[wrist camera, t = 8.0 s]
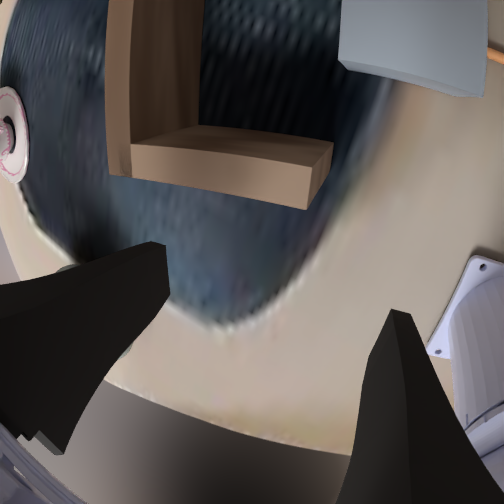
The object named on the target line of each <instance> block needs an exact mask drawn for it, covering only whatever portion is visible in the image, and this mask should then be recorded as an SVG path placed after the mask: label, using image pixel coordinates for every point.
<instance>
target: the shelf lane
mask: <svg viewBox="0 0 504 504" xmlns="http://www.w3.org/2000/svg"><path fill="white" fill-rule="evenodd" d="M204 4H205V0H109V8H108V19H107V33H106V52H105V116H106V137H107V152H108V164H109V174H111V175H118V176H125V177H132V178H139V179H145V180H151V181H158V182H164V183H170V184H176V185H182V186H188V187H193V188H199V189H205V190H210V191H216V192H221V193H226V194H231V195H237V196H242V197H247V198H252V199H257V200H262V201H267V202H271V203H276V204H281V205H286V206H290V207H295V208H299V209H304V210H307V208H308V206H309V205H310V203H311V201H312V200H313V198H314V196H315V195H316V193H317V191H318V190H319V188H320V187H321V185H322V183H323V182H324V180H325V178H326V177H327V175H328V173H329V172H330V166H331V159H332V152H333V145H334V142H328V141H323V140H317V139H312V138H306V137H300V136H294V135H287V134H280V133H273V132H265V131H258V130H249V129H240V128H230V127H219V126H207V125H198V118H199V87H200V64H201V46H202V30H203V16H204Z"/></svg>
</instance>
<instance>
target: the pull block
mask: <svg viewBox="0 0 504 504" xmlns="http://www.w3.org/2000/svg"><path fill="white" fill-rule="evenodd" d="M487 45H488V8H487V0H342V10H341V26H340V40H339V53H338V60H339V61H340V62H341V63H342V64H343V65H344V66H345V67H346V68H347V70H352V71H358V72H363V73H368V74H373V75H378V76H383V77H387V78H392V79H396V80H400V81H404V82H408V83H412V84H416V85H419V86H423V87H427V88H430V89H433V90H437V91H440V92H443V93H446V94H449V95H452V96H461V97H482V98H483V95H484V86H485V76H486V64H487V58H490V59H492V60H494V61H497V62H499V63H501V64H503V65H504V54H503V53H501V52H499V51H497V50H494V49H492V48H490V47H487Z"/></svg>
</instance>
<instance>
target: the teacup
mask: <svg viewBox="0 0 504 504" xmlns="http://www.w3.org/2000/svg"><path fill="white" fill-rule="evenodd" d="M5 116H9V117H11V119H12V121H13V123H14V126H15V131H16V147H15V151H14V152H13V153H12V154H9V151H10V150H11V149H12V148H13V144H14V135H13V130H12V127H11V126H10V124H8V123H4V121H3V119H4V117H5ZM28 161H29V135H28V125H27V120H26V115H25V110H24V108H23V105H22V102H21V99H20V97H19V96H18V94H17V93H16V91H15V90H14V89H13V88H11V87H9V86H7V87H3V88H0V172H1V173H2V175H3V176H4V177H5V178H6V179H7V180H8V181H9V182H12V183H17V182H19V181H21V180H22V179H23V177H24V175H25V173H26V170H27V165H28Z"/></svg>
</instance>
